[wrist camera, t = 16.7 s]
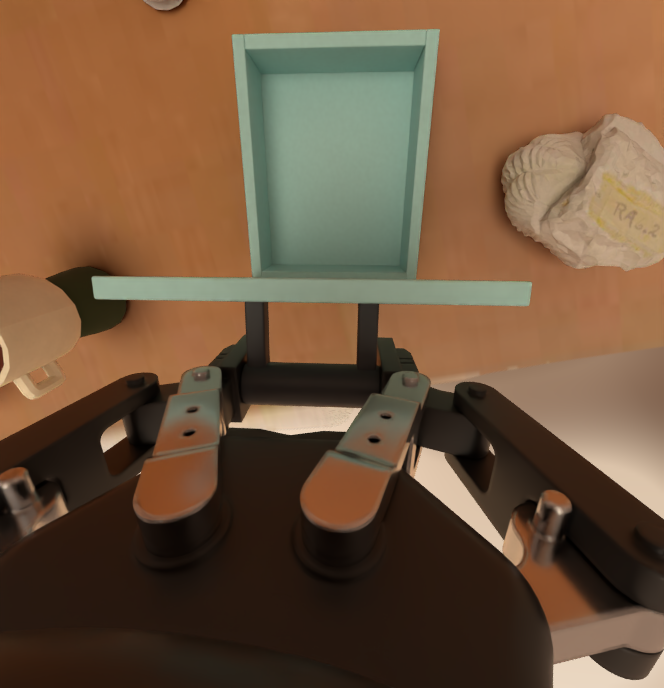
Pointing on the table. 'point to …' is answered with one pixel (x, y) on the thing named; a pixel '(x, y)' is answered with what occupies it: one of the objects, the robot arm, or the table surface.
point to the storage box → (335, 150)
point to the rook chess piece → (163, 4)
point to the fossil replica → (591, 194)
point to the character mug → (48, 324)
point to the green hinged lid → (312, 378)
